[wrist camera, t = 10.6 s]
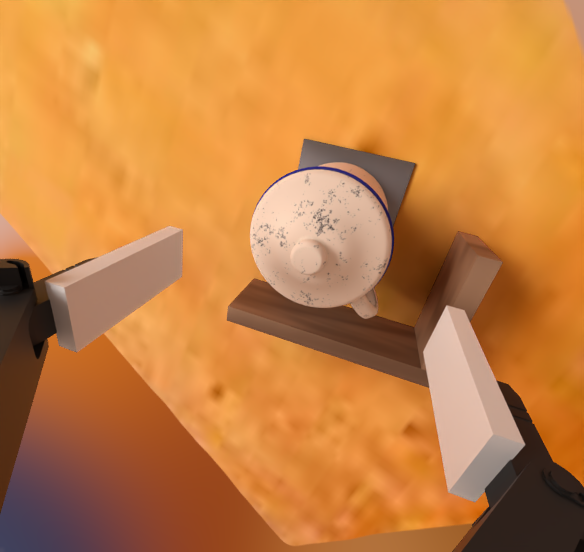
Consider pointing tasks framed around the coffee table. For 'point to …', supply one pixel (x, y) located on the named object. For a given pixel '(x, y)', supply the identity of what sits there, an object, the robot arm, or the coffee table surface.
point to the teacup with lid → (324, 237)
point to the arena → (375, 330)
